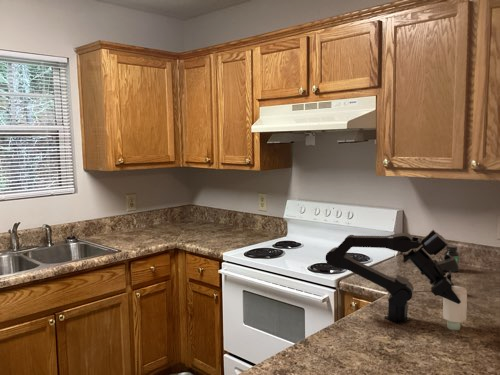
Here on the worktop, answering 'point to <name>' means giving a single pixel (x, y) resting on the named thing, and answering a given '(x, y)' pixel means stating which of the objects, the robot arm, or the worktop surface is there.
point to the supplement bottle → (452, 254)
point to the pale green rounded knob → (453, 325)
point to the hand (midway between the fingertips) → (459, 299)
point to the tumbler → (456, 306)
